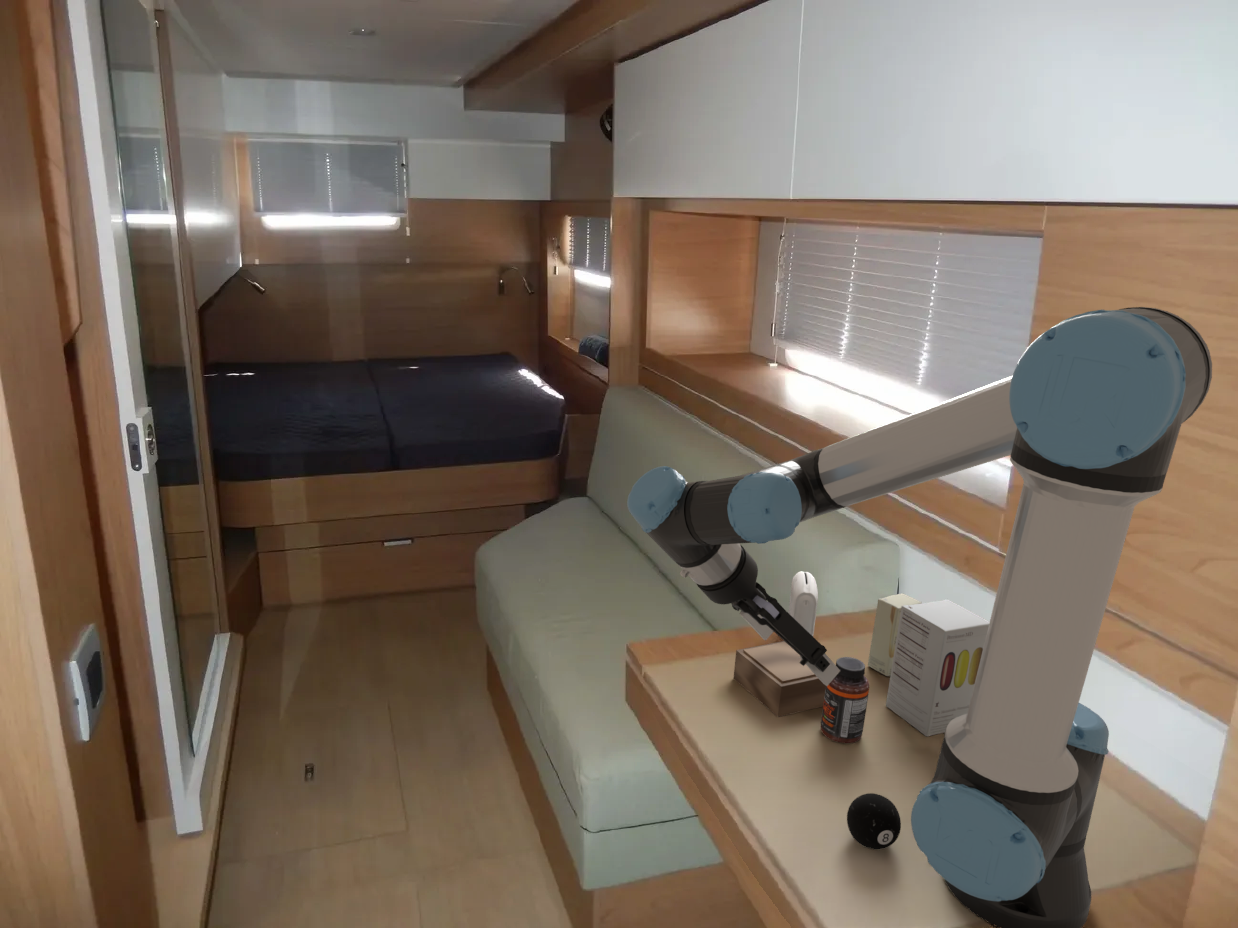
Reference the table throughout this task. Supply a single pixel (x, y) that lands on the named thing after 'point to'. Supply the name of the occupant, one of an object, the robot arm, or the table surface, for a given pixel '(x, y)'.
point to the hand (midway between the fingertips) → (799, 653)
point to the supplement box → (935, 664)
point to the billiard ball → (873, 821)
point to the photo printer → (804, 600)
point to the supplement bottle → (845, 702)
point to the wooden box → (778, 678)
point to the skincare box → (887, 631)
